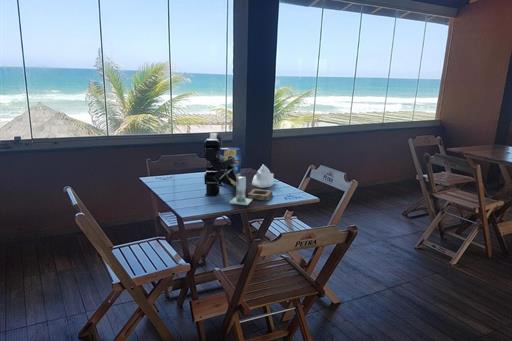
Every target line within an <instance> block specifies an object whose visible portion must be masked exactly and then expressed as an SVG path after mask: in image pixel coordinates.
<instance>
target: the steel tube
mask: <svg viewBox="0 0 512 341" xmlns="http://www.w3.org/2000/svg"><path fill="white" fill-rule="evenodd" d="M246 185H247V177H246V176H241V175H240V176H239V177H236V185H235V188H236V190H235V197H236V201H237V202H245V201H246V198H247V197H246V196H247V194H246V192H247V190H246V189H247V186H246Z"/></svg>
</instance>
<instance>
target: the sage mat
mask: <svg viewBox="0 0 512 341" xmlns="http://www.w3.org/2000/svg"><path fill="white" fill-rule="evenodd" d="M253 200H254V199H248V197H246V201H245V202H237V201H236V196H234V197H233V198H232V199H231V200H230V201H228V204H231V205H232V204H233V205H240V206H241V205H242V206H249V204H250V203H251V202H252V201H253Z"/></svg>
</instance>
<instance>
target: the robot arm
mask: <svg viewBox="0 0 512 341" xmlns="http://www.w3.org/2000/svg"><path fill="white" fill-rule="evenodd" d="M222 141H223V140H222V137H221V136H220V135H219V133H218V132H210V133H209V136H208V137H207V138H206V139H205V141H204V145H203V152H205V153H204V158H205V160H206V161H207V162H208V163H209V165H208V166H207V167H206V170H205V173H204V175H203V176H204V180H203V181H204V185H205V186H206V187H205V188H206V189H205V190H206V191H205V193H204V195H205V196H209V197H217V196H218V195H220V193H221V192H220V188H221V187H220V186H219V185H221V182H222V183H224V184H227V185H229V186H228V187H231V188H233V187H234V186H235V185H233V184H232V182H231V181H230V179H232V180H233V181H235V182H236V175H235V173H234V169H235V168H234V167H235V166H234V165H233V164H234V163H236V162H235V158H234V157H232V156H229V157H228V159H227V160H225V161H224V160H223V159H220V156H218V155H219V154H218V153H220V148H223V142H222ZM229 178H230V179H229Z"/></svg>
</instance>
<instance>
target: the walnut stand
mask: <svg viewBox="0 0 512 341" xmlns="http://www.w3.org/2000/svg"><path fill="white" fill-rule="evenodd" d="M272 196H273V190H268V189H267V190H266V189H259V188H258V189H257V188H252V190H251V191H250V192H248V193H247V198H248V199H253V200H257V201H258V200H259V201H269V200H270V199H271V198H272Z"/></svg>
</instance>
